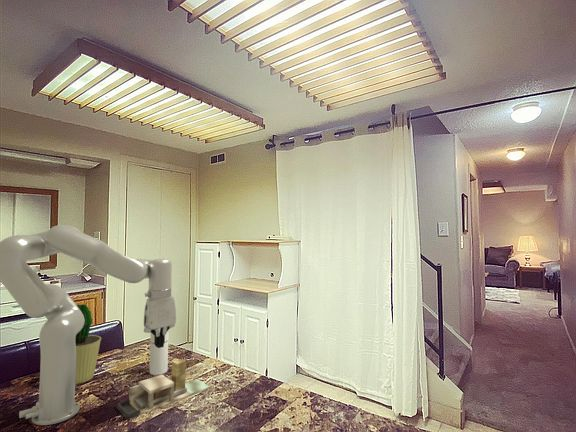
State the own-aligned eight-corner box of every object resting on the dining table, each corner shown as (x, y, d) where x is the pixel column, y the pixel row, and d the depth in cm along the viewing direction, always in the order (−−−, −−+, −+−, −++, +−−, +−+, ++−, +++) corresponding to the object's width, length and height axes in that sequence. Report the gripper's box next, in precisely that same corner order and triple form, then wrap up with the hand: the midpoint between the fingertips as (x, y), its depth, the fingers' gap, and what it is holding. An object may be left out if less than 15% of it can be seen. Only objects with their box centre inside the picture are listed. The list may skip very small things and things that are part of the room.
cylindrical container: (155, 376, 135) (157, 314, 136) (146, 371, 139) (147, 311, 141) (170, 370, 141) (172, 311, 142) (161, 366, 145) (163, 308, 146)
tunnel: (127, 419, 104) (127, 398, 104) (116, 408, 110) (117, 388, 111) (210, 388, 125) (210, 370, 125) (196, 380, 132) (197, 363, 132)
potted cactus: (108, 371, 140) (110, 299, 141) (81, 388, 124) (85, 307, 126) (74, 369, 141) (77, 298, 143) (44, 385, 126) (47, 306, 128)
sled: (140, 408, 109) (142, 375, 109) (134, 402, 113) (135, 370, 113) (186, 391, 120) (187, 361, 121) (179, 386, 124) (180, 357, 125)
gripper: (143, 298, 109) (142, 355, 108) (184, 292, 120) (184, 344, 119) (134, 295, 114) (133, 349, 114) (174, 290, 125) (174, 339, 124)
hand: (159, 346), depth 116 cm, fingers closed
